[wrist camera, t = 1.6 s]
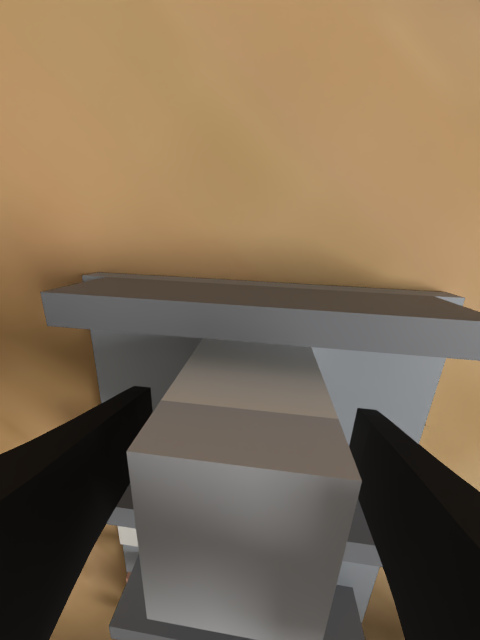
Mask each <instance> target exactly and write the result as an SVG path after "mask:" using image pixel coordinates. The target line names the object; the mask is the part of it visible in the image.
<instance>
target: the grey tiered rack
mask: <svg viewBox="0 0 480 640" xmlns="http://www.w3.org/2000/svg"><path fill="white" fill-rule="evenodd" d="M82 278H83V282H82V283H77V284H73V285H69V286H64V287H60V288H56V289H51V290H47V291H43V292H40V293H41V298H42V303H43V307H44V312H45V317H46V322H47V326H54V327H67V328H79V329H90V331H91V338H92V345H93V351H94V358H95V365H96V371H97V378H98V385H99V391H100V398H101V403H103V402H105V401H107V400H109V399H110V398H112V397H114V396H116V395H118V394H119V393H121V392H123V391H125V390H127V389H129V388H131V387H133V386H141V387H151V398H152V410H153V411H154V410H155V408H156V407H157V405H158V404H159V402H160V401H161V399H162V398H163V396H164V395H165V394H166V392H167V391H168V389H169V388H170V386H171V385H172V383H173V382H174V380H175V379H176V377H177V376H178V374H179V373H180V371H181V370H182V368H183V367H184V365H185V364H186V362H187V361H188V360H189V358H190V357H191V355H192V354H193V352H194V351H195V349H196V348H197V346H198V345H199V343H200V342H201V340H202V339H203V338H204V339H216V340H229V341H241V342H254V343H266V344H279V345H291V346H304V347H311V348H312V350H313V353H314V356H315V358H316V361H317V364H318V366H319V369H320V372H321V374H322V377H323V379H324V382H325V385H326V387H327V390H328V393H329V395H330V398H331V401H332V403H333V406H334V409H335V411H336V414H337V416H338V419H339V422H340V424H341V427H342V430H343V432H344V435H345V438H346V440H347V443H348V445H350V440H351V435H352V431H353V426H354V421H355V417H356V412H357V408H363V409H373V410H377V411H379V412H380V413H381V414H383V415H384V416H385V417H387V418H388V419H389V420H390V421H391V422H393V423H394V424H395V425H396V426H398V427H399V428H400V429H401V430H402V431H404V432H405V433H406V434H407V435H408V436H410V437H411V438H412V439H413V440H414V441H416V442H417V443H418V444H419V442H420V438H421V435H422V432H423V429H424V426H425V423H426V419H427V416H428V413H429V410H430V407H431V404H432V401H433V397H434V394H435V391H436V388H437V385H438V382H439V379H440V375H441V372H442V369H443V366H444V363H445V360H446V358H453V359H466V360H478V361H480V312H478V311H475V310H472V309H469V308H466V307H463V303H464V300H465V298H463V297H460V296H457V295H454V294H450V293H447V292H434V291H416V290H399V289H381V288H364V287H347V286H329V285H312V284H294V283H277V282H259V281H242V280H225V279H207V278H190V277H172V276H155V275H137V274H120V273H103V272H97V273H92V274H87V275H82ZM106 524H109V525H116V526H118V532H119V539H120V544H123V551H124V557H125V564H126V571H127V576H126V586H125V588H124V591H123V593H122V596H121V598H120V600H119V603H118V605H117V608H116V610H115V612H114V615H113V617H112V620H111V622H110V624H109V630H110V635H111V638H112V639H117V640H255V639H250V638H245V637H240V636H234V635H229V634H224V633H219V632H213V631H208V630H203V629H198V628H192V627H187V626H182V625H177V624H171V623H166V622H161V621H156V620H151V619H147V615H146V606H145V598H144V590H143V582H142V574H141V566H140V558H139V550H138V542H137V533H136V525H135V517H134V509H133V501H132V493H131V485H130V484H129V486H128V487H127V489H126V491H125V493H124V494H123V496H122V498H121V499H120V501H119V503H118V504H117V506H116V508H115V510H114V511H113V513H112V515H111V516H110V518H109V520H108V522H107V523H106ZM379 567H383V566H382V563H381V560H380V558H379V555H378V552H377V549H376V547H375V544H374V541H373V538H372V536H371V533H370V530H369V527H368V525H367V522H366V519H365V516H364V514H363V511H362V508H361V505H360V502H359V500H357V504H356V508H355V512H354V516H353V520H352V524H351V528H350V532H349V536H348V540H347V544H346V548H345V552H344V556H343V560H342V564H341V569H340V573H339V577H338V581H337V585H336V589H335V593H334V597H333V601H332V605H331V609H330V613H329V617H328V621H327V625H326V629H325V633H324V638H323V640H365V637H364V633H363V629H362V625H361V624H362V621H363V618H364V615H365V611H366V608H367V605H368V602H369V599H370V596H371V593H372V589H373V586H374V583H375V580H376V577H377V574H378V570H379Z"/></svg>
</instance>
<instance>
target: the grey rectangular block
mask: <svg viewBox="0 0 480 640" xmlns="http://www.w3.org/2000/svg"><path fill="white" fill-rule="evenodd" d="M126 452H127V460H128V469H129V477H130V485H131V493H132V501H133V509H134V517H135V525H136V533H137V542H138V550H139V558H140V566H141V574H142V582H143V590H144V598H145V606H146V615H147V619H151V620H156V621H161V622H166V623H171V624H177V625H182V626H187V627H192V628H198V629H203V630H208V631H213V632H219V633H224V634H229V635H234V636H240V637H245V638H250V639H255V640H323V638H324V633H325V629H326V625H327V621H328V617H329V613H330V609H331V605H332V601H333V597H334V593H335V589H336V585H337V581H338V577H339V573H340V569H341V564H342V560H343V556H344V552H345V548H346V544H347V540H348V536H349V532H350V528H351V524H352V520H353V516H354V512H355V508H356V504H357V500H358V495H359V491H360V487H361V483H362V480H361V477H360V475H359V472H358V469H357V467H356V464H355V461H354V459H353V456H352V453H351V451H350V448H349V445H348V443H347V440H346V438H345V435H344V432H343V430H342V427H341V424H340V422H339V419H338V416H337V414H336V411H335V409H334V406H333V403H332V401H331V398H330V395H329V393H328V390H327V387H326V385H325V382H324V379H323V377H322V374H321V372H320V369H319V366H318V364H317V361H316V358H315V356H314V353H313V350H312V348H311V347H304V346H291V345H279V344H266V343H254V342H241V341H229V340H216V339H204V338H203V339H202V340H201V342H200V343H199V345H198V346H197V348H196V349H195V351H194V352H193V354H192V355H191V357H190V358H189V360H188V361H187V362H186V364H185V365H184V367H183V368H182V370H181V371H180V373H179V374H178V376H177V377H176V379H175V380H174V382H173V383H172V385H171V386H170V388H169V389H168V391H167V392H166V394H165V395H164V396H163V398H162V399H161V401H160V402H159V404H158V405H157V407H156V408H155V410H154V411H153V413H152V414H151V416H150V417H149V419H148V420H147V422H146V423H145V425H144V426H143V427H142V429H141V430H140V432H139V433H138V435H137V436H136V438H135V439H134V441H133V442H132V444H131V445H130V447H129V448H128V450H127V451H126Z"/></svg>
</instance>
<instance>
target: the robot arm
mask: <svg viewBox="0 0 480 640" xmlns="http://www.w3.org/2000/svg"><path fill="white" fill-rule="evenodd" d="M152 413H153V410H152V398H151V387H141V386H133V387H131V388H129V389H127V390H125V391H123V392H121V393H119V394H118V395H116V396H114V397H112V398H110V399H109V400H107V401H105V402H103V403H101V404H100V405H98V406H96V407H94V408H92V409H91V410H89V411H87V412H85V413H83V414H82V415H80V416H78V417H76V418H74V419H72V420H70V421H68V422H66V423H65V424H63V425H61V426H59V427H57V428H55V429H53V430H51V431H49V432H47V433H45V434H43V435H41V436H39V437H37V438H35V439H33V440H31V441H29V442H27V443H25V444H22V445H20V446H18V447H16V448H14V449H12V450H9V451H7V452H5V453H2V454H0V640H49V639H50V637H51V634H52V632H53V630H54V628H55V626H56V624H57V621H58V619H59V617H60V615H61V613H62V611H63V609H64V606H65V604H66V602H67V600H68V598H69V596H70V593H71V591H72V589H73V587H74V585H75V583H76V581H77V579H78V577H79V575H80V573H81V571H82V569H83V567H84V565H85V562H86V560H87V558H88V556H89V554H90V552H91V550H92V548H93V547H94V545H95V543H96V541H97V539H98V537H99V535H100V534H101V532H102V530H103V528H104V527H105V525H106V523H107V522H108V520H109V518H110V516H111V515H112V513H113V511H114V510H115V508H116V506H117V504H118V503H119V501H120V499H121V498H122V496H123V494H124V493H125V491H126V489H127V487H128V486H129V484H130V477H129V469H128V460H127V452H126V451H127V450H128V448H129V447H130V445H131V444H132V442H133V441H134V439H135V438H136V436H137V435H138V433H139V432H140V430H141V429H142V427H143V426H144V425H145V423H146V422H147V420H148V419H149V417H150V416H151V414H152ZM349 448H350V451H351V453H352V456H353V459H354V461H355V464H356V467H357V469H358V472H359V475H360V477H361V480H362V483H361V487H360V491H359V495H358V500H359V502H360V505H361V508H362V511H363V514H364V516H365V519H366V522H367V525H368V527H369V530H370V533H371V536H372V538H373V541H374V544H375V547H376V549H377V552H378V555H379V558H380V560H381V563H382V566H383V569H384V571H385V574H386V577H387V580H388V583H389V586H390V589H391V592H392V595H393V598H394V602H395V605H396V609H397V612H398V616H399V619H400V623H401V626H402V630H403V633H404V637H405V640H480V492H479V491H478V490H477V489H475V488H474V487H473V486H471V485H470V484H469V483H467V482H466V481H465V480H463V479H462V478H461V477H459V476H458V475H457V474H455V473H454V472H453V471H452V470H450V469H449V468H448V467H446V466H445V465H444V464H443V463H441V462H440V461H439V460H438V459H436V458H435V457H434V456H433V455H431V454H430V453H429V452H428V451H426V450H425V449H424V448H423V447H422V446H420V445H419V444H418V443H417V442H416V441H414V440H413V439H412V438H411V437H410V436H408V435H407V434H406V433H405V432H404V431H402V430H401V429H400V428H399V427H398V426H396V425H395V424H394V423H393V422H391V421H390V420H389V419H388V418H387V417H385V416H384V415H383V414H381V413H380V412H379V411H377V410H373V409H363V408H357V412H356V417H355V421H354V426H353V431H352V435H351V440H350V445H349Z"/></svg>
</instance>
